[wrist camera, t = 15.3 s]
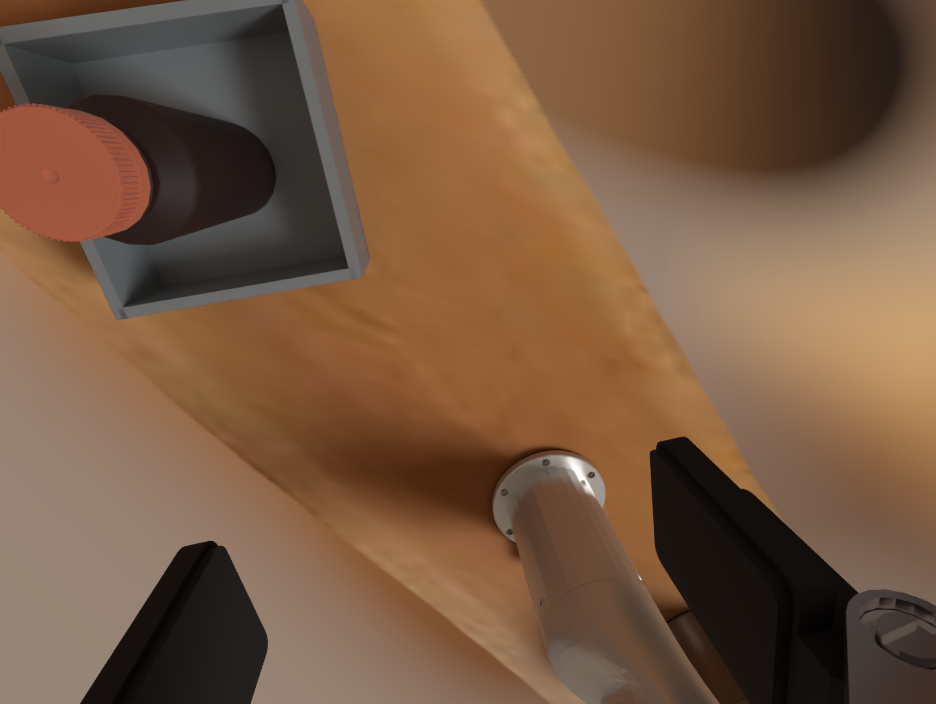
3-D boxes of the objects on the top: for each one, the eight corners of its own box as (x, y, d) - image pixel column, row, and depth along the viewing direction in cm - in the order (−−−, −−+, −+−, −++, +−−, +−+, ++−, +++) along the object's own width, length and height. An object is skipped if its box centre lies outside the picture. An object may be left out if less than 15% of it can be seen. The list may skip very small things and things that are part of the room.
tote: (369, 259, 41) (362, 277, 34) (163, 294, 40) (116, 320, 34) (313, 18, 34) (291, -15, 28) (64, 55, 33) (-19, 29, 27)
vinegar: (296, 172, 37) (187, 180, 18) (240, 234, 38) (84, 300, 19) (221, 100, 34) (10, 24, 16) (163, 168, 36) (-96, 171, 17)
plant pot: (714, 575, 61) (813, 709, 46) (768, 633, 66) (872, 769, 51) (613, 643, 63) (675, 791, 48) (673, 694, 69) (746, 840, 54)
